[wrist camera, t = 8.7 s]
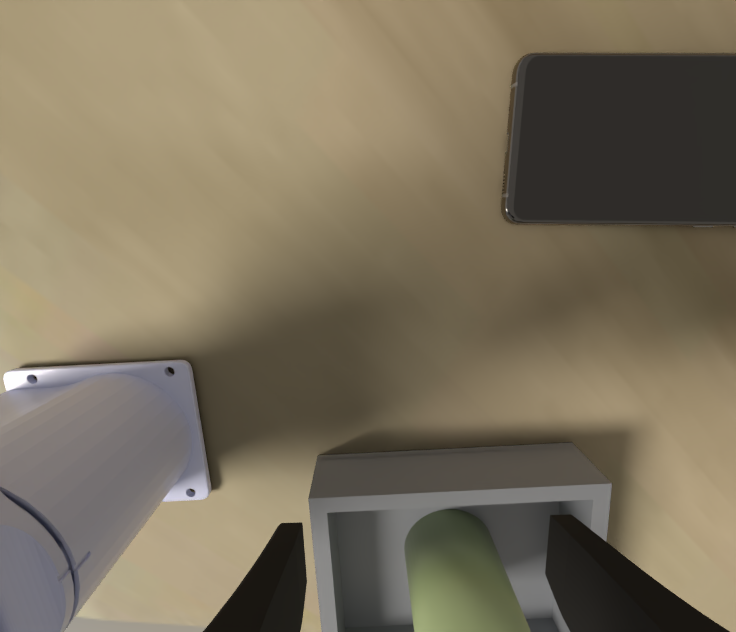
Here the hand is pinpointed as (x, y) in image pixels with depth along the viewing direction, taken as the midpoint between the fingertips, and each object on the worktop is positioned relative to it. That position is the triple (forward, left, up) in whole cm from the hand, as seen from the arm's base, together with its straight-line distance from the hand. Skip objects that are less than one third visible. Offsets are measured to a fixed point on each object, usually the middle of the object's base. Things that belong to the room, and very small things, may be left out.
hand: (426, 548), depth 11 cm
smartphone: (+13, +12, -10) cm, 21 cm away
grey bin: (+2, -9, -10) cm, 13 cm away
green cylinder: (+3, -9, -9) cm, 13 cm away
